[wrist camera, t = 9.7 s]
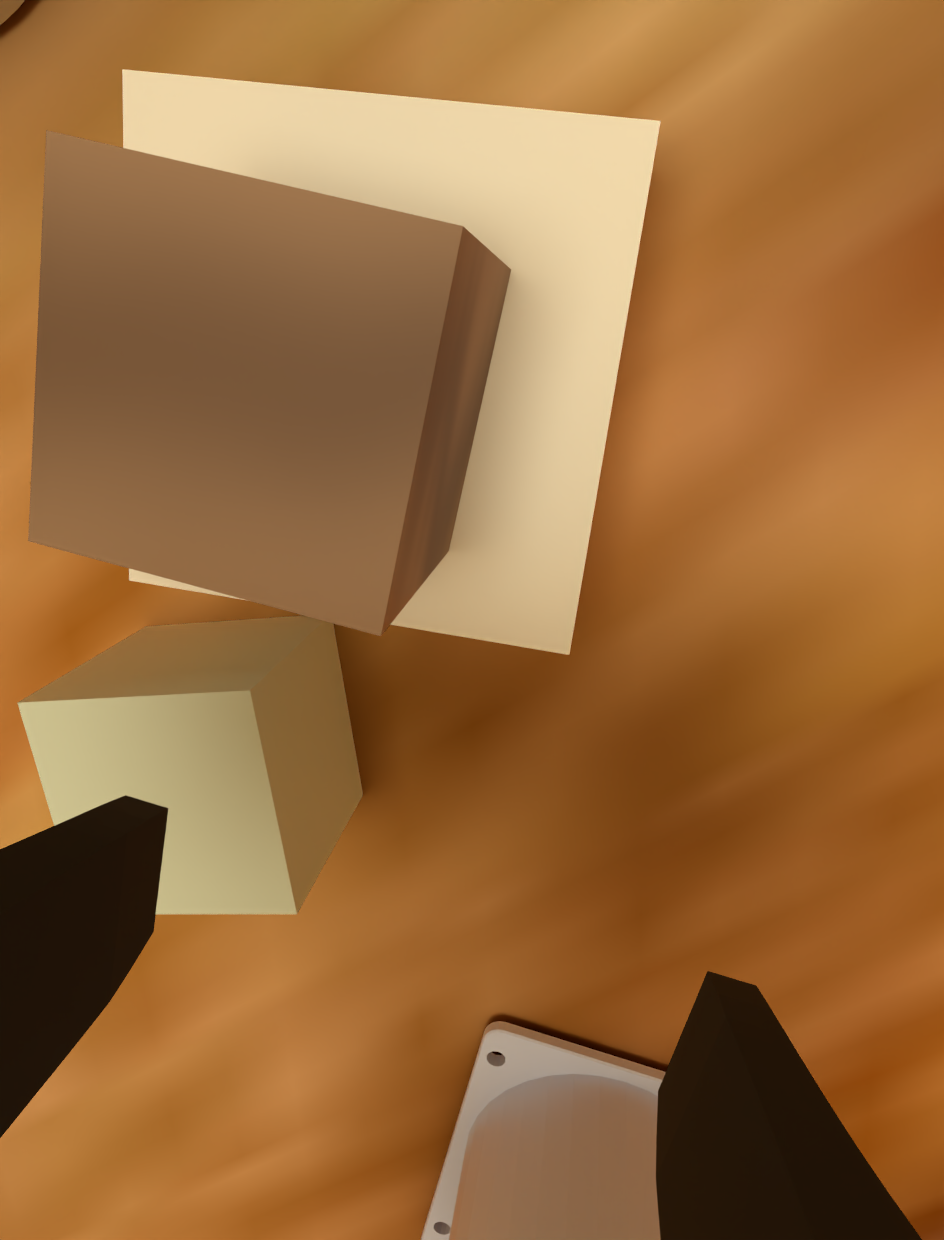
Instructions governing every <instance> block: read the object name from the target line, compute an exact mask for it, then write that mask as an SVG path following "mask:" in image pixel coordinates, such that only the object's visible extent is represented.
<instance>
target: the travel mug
mask: <svg viewBox="0 0 944 1240" xmlns="http://www.w3.org/2000/svg"><path fill="white" fill-rule="evenodd" d="M24 1H25V0H0V25H1V24H2V23H3V22H5V21H6V20H7V19H8V18H9V17H10V16H11V15H12V14H13V13H14V12H15V11H16V10H17V9H18V8H19V7H20V6H21V4H22V3H23V2H24Z"/></svg>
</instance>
